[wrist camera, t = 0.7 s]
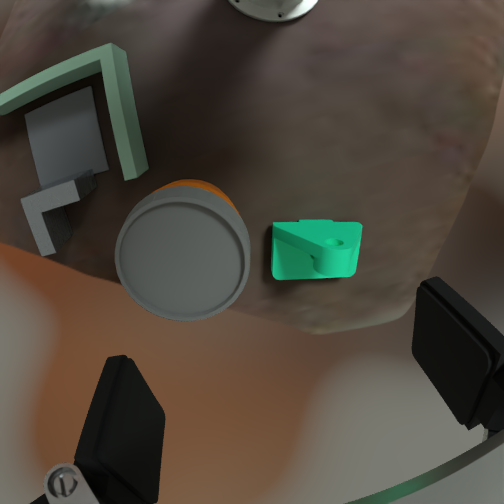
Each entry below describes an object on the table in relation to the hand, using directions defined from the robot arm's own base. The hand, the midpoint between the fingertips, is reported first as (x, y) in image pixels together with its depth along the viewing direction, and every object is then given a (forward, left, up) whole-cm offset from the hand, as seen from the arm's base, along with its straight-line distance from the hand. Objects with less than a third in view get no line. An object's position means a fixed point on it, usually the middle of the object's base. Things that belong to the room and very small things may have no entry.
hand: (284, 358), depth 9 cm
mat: (-10, -21, -33) cm, 40 cm away
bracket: (-1, -22, -33) cm, 39 cm away
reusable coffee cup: (+4, -6, -33) cm, 34 cm away
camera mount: (+12, +9, -33) cm, 36 cm away
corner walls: (-11, -21, -33) cm, 40 cm away
